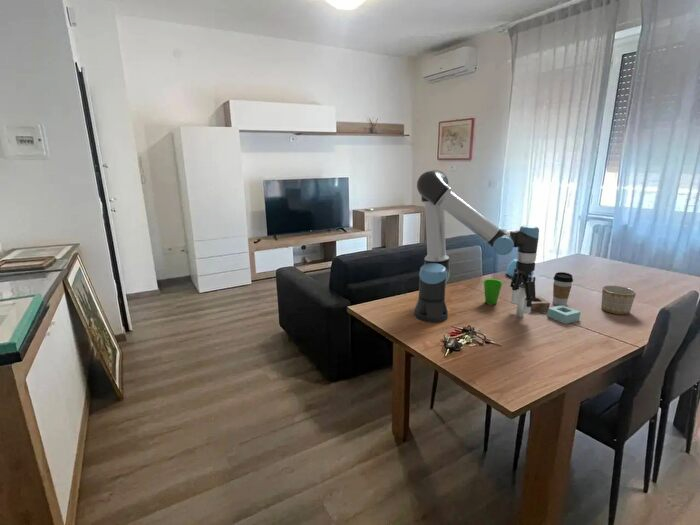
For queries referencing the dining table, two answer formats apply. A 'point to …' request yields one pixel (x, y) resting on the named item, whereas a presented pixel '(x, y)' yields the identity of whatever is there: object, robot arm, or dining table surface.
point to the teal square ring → (563, 314)
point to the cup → (492, 290)
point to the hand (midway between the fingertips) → (520, 308)
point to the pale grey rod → (520, 301)
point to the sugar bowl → (513, 266)
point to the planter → (617, 299)
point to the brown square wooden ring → (539, 304)
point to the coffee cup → (561, 288)
